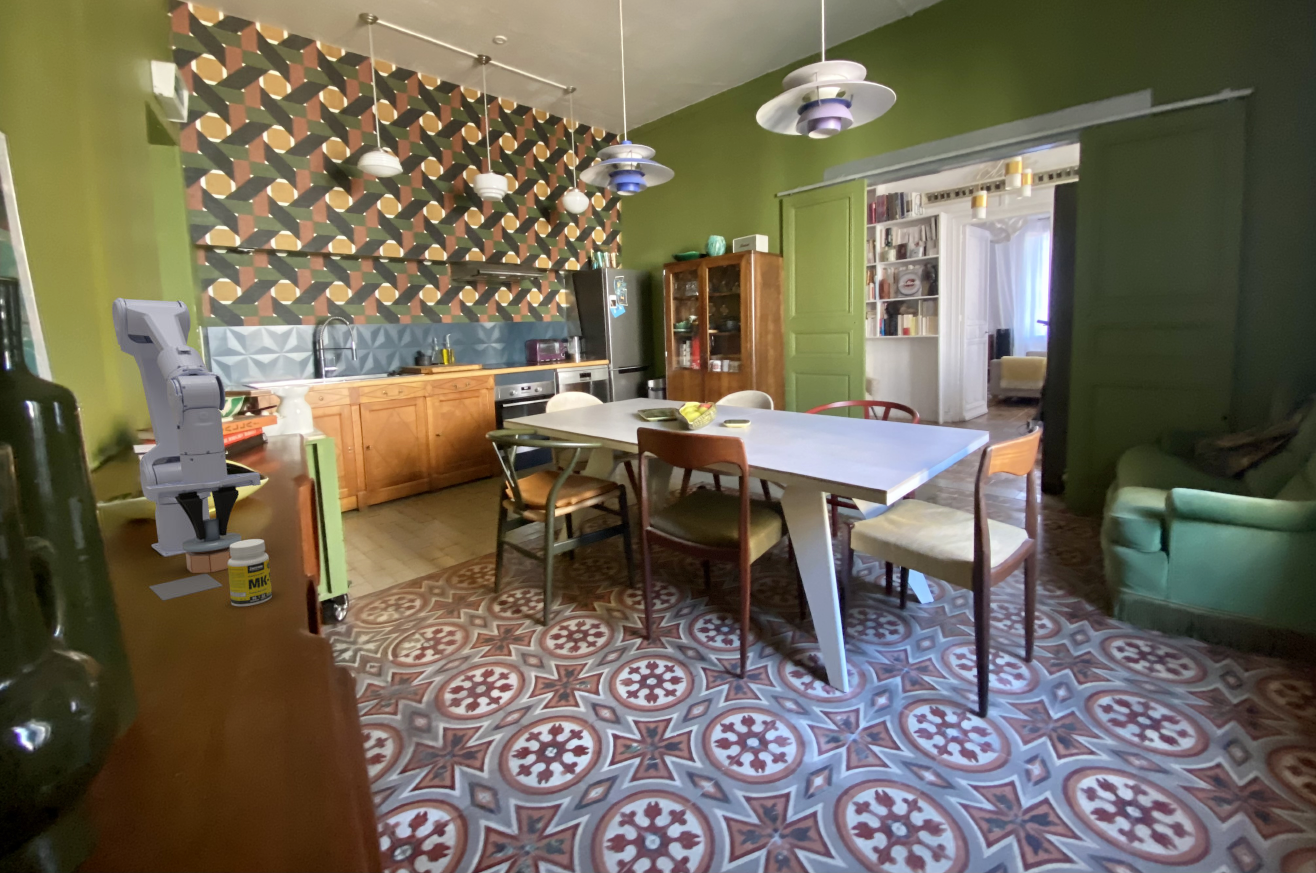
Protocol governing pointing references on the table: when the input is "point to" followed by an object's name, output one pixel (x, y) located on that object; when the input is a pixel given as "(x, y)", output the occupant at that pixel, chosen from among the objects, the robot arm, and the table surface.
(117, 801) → the table surface
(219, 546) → the lid
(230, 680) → the table surface
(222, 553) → the bowl
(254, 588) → the supplement bottle
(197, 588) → the mat
